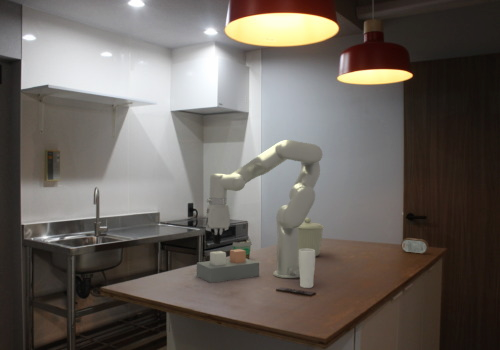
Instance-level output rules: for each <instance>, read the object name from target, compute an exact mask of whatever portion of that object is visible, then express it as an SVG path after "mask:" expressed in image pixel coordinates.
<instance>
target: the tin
mask: <svg viewBox="0 0 500 350" xmlns="http://www.w3.org/2000/svg"><path fill="white" fill-rule="evenodd" d="M429 246H430V245H429V243H428V241H426V240H425V239H424V238H413V237H406V238H403V240H402V241H401V243H400V247H401V249H402V251H403V252H405V253H407V252H411V254H416V253H420V254H419V255H423V254H425V253H427V252H428V251H429V248H430V247H429Z"/></svg>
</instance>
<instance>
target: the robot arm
mask: <svg viewBox="0 0 500 350" xmlns="http://www.w3.org/2000/svg"><path fill="white" fill-rule="evenodd" d="M322 158H323V150H322V148H321V147H320V146H319V145H317V144H314V143H308V142H304V141H296V140H293V139H285V140H281V141H279V142H277V143H276V144H274V145H273V146H271V147H269V148H268V149H266V150H265V151H263V152H262V153H261V154H258V155H257V156H256V157H254V158H252V159H251V160H250V161H249V162H247V163H246V164H244V165H243V166H241V167H240V168H238V169H236V170H235V171H233V172H232V173H230V174H225V173H211V174H210V177H209V197H208V198H209V199H206V203H208V205H207V206H206V207H207V209H206V213H205V231H208V232H211V234H212V242H213V244H215V245H220V244H221V240H222V238H221V237H222V234H223V233H224V232H225V231H227V230H229V228H230V225H231V218H230V217H231V215H230V208H229V204H227V199H228V191H234V192H238V191H239V192H240V191H241V190H243V189H244V188H245V186H246V184H247V183H249V182H251V181H252V180H254V179H255V178H257V177H261V176H264V175H266V174H268V173H269V172H270V171H272V170H274V168H276V167H278V166H280V165H281V164H282V163H284V162H285V161H287V160H291V161H295V162H299V163H301V164H300V165H301V170H300V173H299V174H298V177H297V178H296V181H295V182H294V184H293V186H292V187H291V189H290V191H289V194H288V196H289V203H288V204H284V205H281V206H280V207H279V208H278V210H277V212H276V216H275V218H276V230H277V231H276V234H277V235H276V255H277V256H276V270H275V271H273V276H274V277H275V278H276V277H277V278H282V279H297V278H300V273H299V256H298V227H299V226H300V225H301V224H302V223H303V222H305V221H304V220H305V218H307V217H308V214H309V213H310V210H311V209H312V206H313V205H314V203H315V200H316V192H315V189H314V188H315V186H316V185H317V182H318V180H319V177H320V174H321V165H320V161H321V160H322Z"/></svg>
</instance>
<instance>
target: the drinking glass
mask: <svg viewBox="0 0 500 350" xmlns="http://www.w3.org/2000/svg"><path fill="white" fill-rule="evenodd" d="M315 264H316V256H315V250H314V249H299V256H298V266H299V273H300V277H299V286H300V287H301V288H304V289H311V288H313V287H314V278H315V277H314V276H315V267H316V265H315Z"/></svg>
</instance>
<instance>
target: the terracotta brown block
mask: <svg viewBox="0 0 500 350" xmlns="http://www.w3.org/2000/svg"><path fill="white" fill-rule="evenodd" d="M229 259H230V262H233V263H243V262H246V251H245V250H241V249H236V250H234V249H230V250H229Z"/></svg>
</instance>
